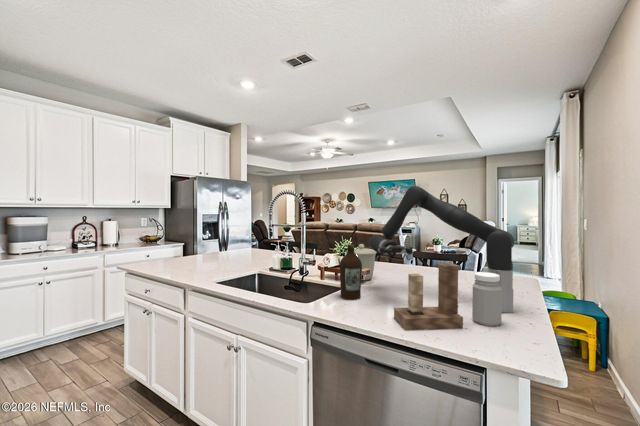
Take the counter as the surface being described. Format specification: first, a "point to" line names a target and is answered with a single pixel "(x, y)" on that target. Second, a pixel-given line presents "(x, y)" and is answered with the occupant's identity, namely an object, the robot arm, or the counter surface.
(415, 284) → the beige wooden post
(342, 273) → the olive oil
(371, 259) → the canister
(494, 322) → the jar
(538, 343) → the counter surface
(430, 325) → the brown wooden stand
